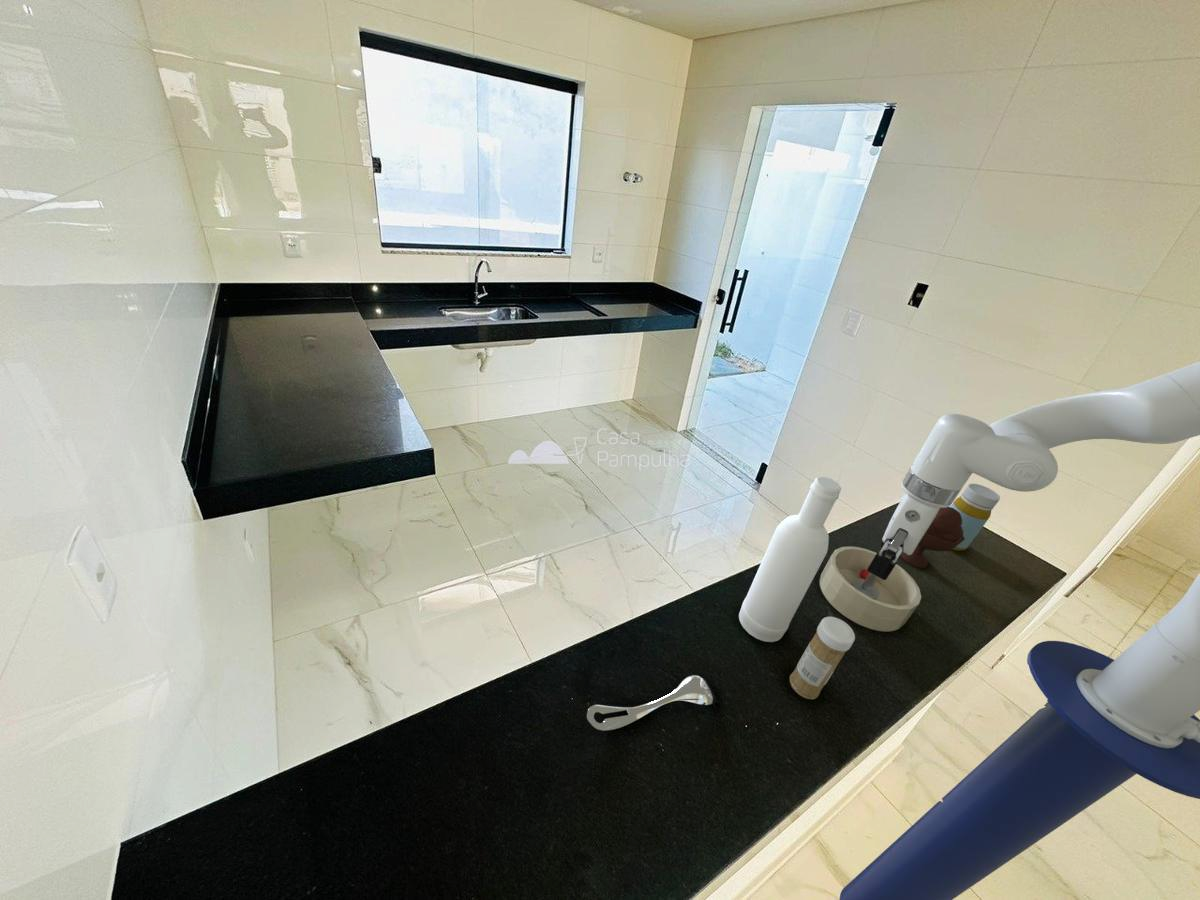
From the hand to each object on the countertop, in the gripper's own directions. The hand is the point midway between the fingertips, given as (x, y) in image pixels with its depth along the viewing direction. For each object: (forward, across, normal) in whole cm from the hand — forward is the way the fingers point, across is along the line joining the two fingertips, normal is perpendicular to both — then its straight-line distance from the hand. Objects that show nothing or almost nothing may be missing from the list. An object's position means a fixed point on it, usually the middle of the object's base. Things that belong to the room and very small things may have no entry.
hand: (883, 562), depth 85 cm
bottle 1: (+10, -22, +11) cm, 26 cm away
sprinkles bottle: (+10, -28, +1) cm, 30 cm away
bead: (+8, +5, +1) cm, 9 cm away
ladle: (+9, 0, 0) cm, 9 cm away
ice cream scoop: (+10, -48, +15) cm, 52 cm away
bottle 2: (+10, +38, -10) cm, 40 cm away
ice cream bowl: (+10, +23, -5) cm, 25 cm away
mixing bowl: (+9, 0, 0) cm, 9 cm away
